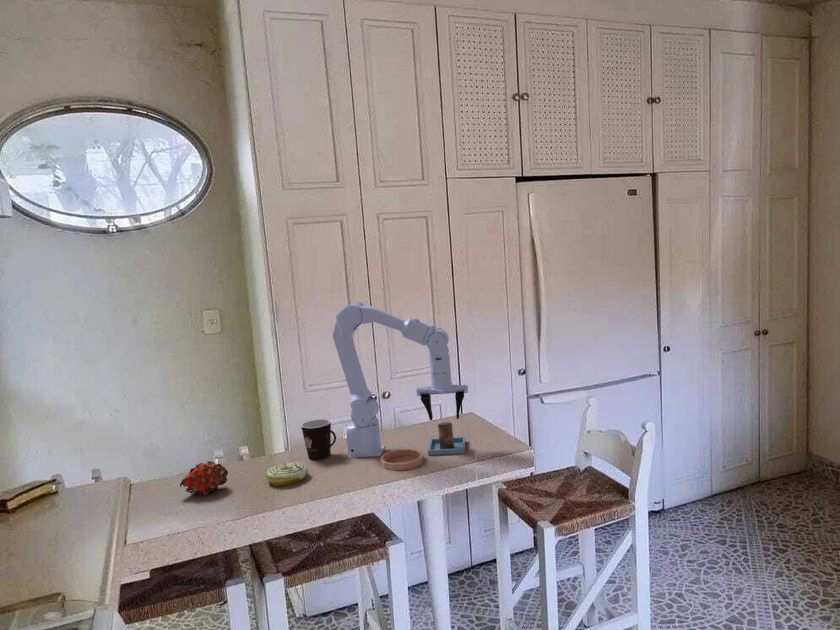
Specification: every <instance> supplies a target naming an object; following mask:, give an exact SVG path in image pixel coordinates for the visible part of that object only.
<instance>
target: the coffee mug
mask: <svg viewBox="0 0 840 630" xmlns="http://www.w3.org/2000/svg"><path fill="white" fill-rule="evenodd" d="M331 424H332V421H331V420H330V419H325V418H320V419H319V418H318V419H317V418H316V419H312V420H308V421H307V420H306V422H303V423H301V424H300V426H301V431H302V435H303V436H302V437H303V439H304V445H305V448H306V452H307V457H308V459H309V461H323V460H326V459H328V458H329V457H331V455H332V454H331V452H332V451H331V448H332V447H333V445H335V443H336V442H337V441H336V440H337V436H336V433H335V432H334V431H333V430H332V425H331ZM331 434H332V435H333V440H332V442H331V439H332V438H331Z"/></svg>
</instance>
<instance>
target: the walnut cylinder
mask: <svg viewBox="0 0 840 630" xmlns="http://www.w3.org/2000/svg"><path fill="white" fill-rule="evenodd" d="M437 429H438V438H439V442H440V449H453V448H454V442H453V438H454V432H453V423H452V422H450V421H448V422H447V421H445V422H440V423H439V424H437Z"/></svg>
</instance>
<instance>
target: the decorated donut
mask: <svg viewBox="0 0 840 630" xmlns="http://www.w3.org/2000/svg"><path fill="white" fill-rule="evenodd" d="M308 473H309V471H308V465H307V464H306V463H304V462H300V461H295V462H294V461H291V462H282V463H279V464H276V465H273V466H271V467H270V468H269V469H268V470H267V471H266V480H267V481H268V482H269V483H270V485H271V484H272V486H275V485H277V486H276V487H280V486H281V485H282V486H283V485H287V486H291V485H294V484H297V483H298V482H301V481H303V479H304V480H305V479H306V478H307V475H308ZM290 484H291V485H290Z"/></svg>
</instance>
